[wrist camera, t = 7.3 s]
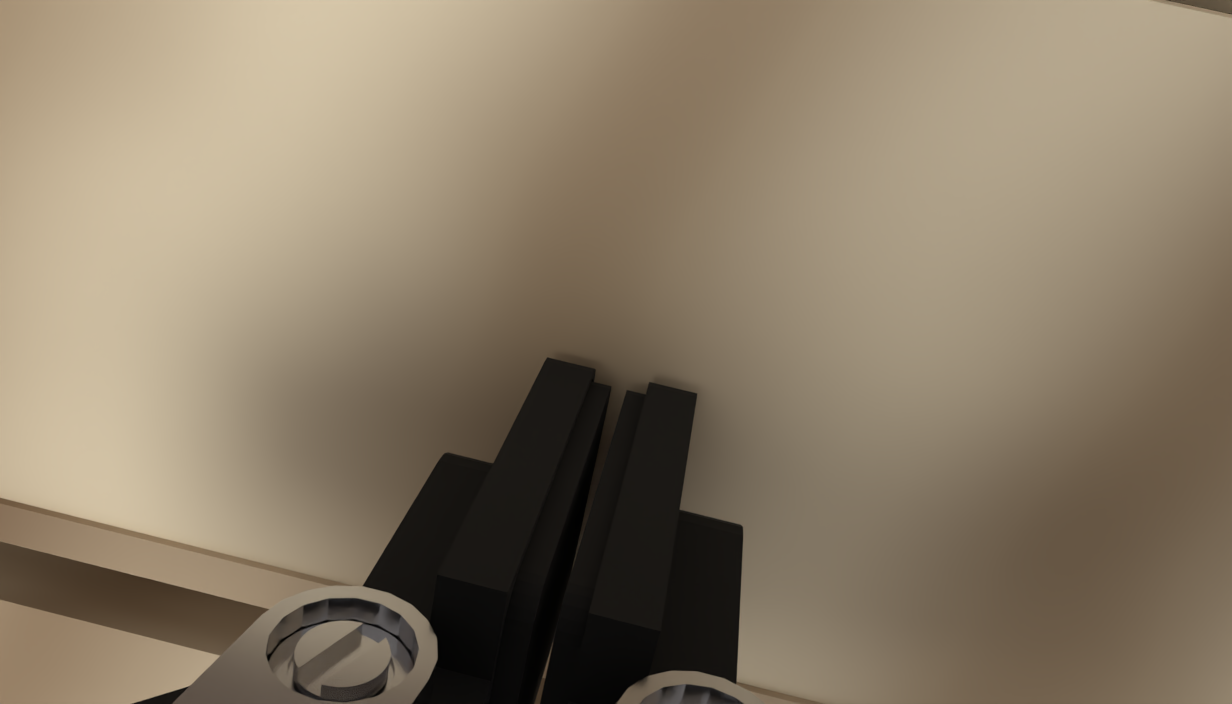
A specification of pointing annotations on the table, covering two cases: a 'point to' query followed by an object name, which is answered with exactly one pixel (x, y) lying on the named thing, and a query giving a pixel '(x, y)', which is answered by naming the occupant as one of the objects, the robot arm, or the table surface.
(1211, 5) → the table surface
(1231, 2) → the table surface
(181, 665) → the laid board
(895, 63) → the plank
